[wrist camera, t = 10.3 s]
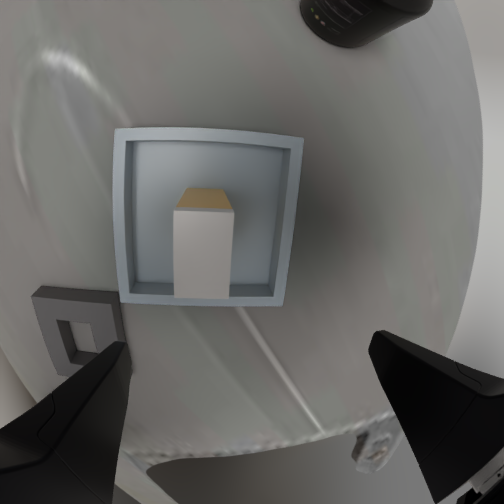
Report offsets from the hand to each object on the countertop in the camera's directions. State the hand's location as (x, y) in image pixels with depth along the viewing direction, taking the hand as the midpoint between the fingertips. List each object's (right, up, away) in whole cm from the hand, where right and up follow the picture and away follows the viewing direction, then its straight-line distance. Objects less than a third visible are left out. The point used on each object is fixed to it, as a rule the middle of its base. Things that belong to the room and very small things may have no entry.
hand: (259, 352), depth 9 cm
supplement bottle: (+7, +23, +7) cm, 25 cm away
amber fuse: (-4, +6, +10) cm, 12 cm away
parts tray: (-4, +6, +11) cm, 13 cm away
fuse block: (-16, -4, +13) cm, 20 cm away
